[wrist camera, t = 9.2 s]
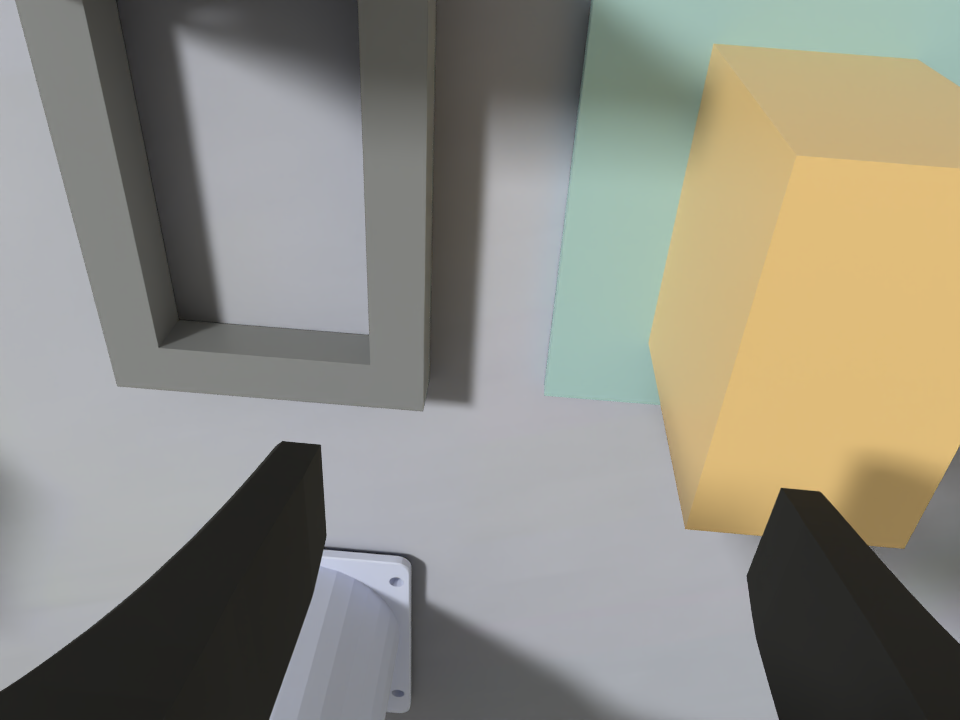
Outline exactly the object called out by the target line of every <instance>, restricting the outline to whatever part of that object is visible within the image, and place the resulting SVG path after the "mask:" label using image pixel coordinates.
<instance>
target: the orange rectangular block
mask: <svg viewBox="0 0 960 720" xmlns="http://www.w3.org/2000/svg"><path fill="white" fill-rule="evenodd" d="M648 344H649V349H650V354H651V359H652V364H653V369H654V374H655V379H656V384H657V389H658V394H659V399H660V404H661V410H662V415H663V420H664V425H665V430H666V435H667V440H668V445H669V450H670V455H671V460H672V465H673V470H674V475H675V480H676V485H677V490H678V495H679V500H680V505H681V510H682V515H683V520H684V525H685V529H690V530H701V531H712V532H723V533H734V534H745V535H757V536H762V535H763V533H764V530H765V527H766V525H767V522H768V520H769V517H770V515H771V512H772V509H773V507H774V504H775V502H776V499H777V497H778V494H779V491H780V489H781V488H789V489H800V490H811V491H820V492H821V493H822V494H823V495H824V496H825V497H826V498H827V499H828V500H829V501H830V502H831V504H832V505H833V506H834V507H835V508H836V509H837V510H838V512H839V513H840V514H841V515H842V516H843V517H844V518H845V520H846V521H847V522H848V523H849V524H850V525H851V527H852V528H853V529H854V530H855V531H856V532H857V533H858V535H859V536H860V537H861V538H862V539H863V540H864V541H865V543H866V544H867V545H868V546H879V547H890V548H901V549H904V548H905V546H906V544H907V543H908V541H909V539H910V537H911V535H912V533H913V531H914V530H915V528H916V526H917V524H918V522H919V520H920V518H921V517H922V515H923V513H924V511H925V509H926V507H927V505H928V504H929V502H930V500H931V498H932V496H933V494H934V492H935V490H936V489H937V487H938V485H939V483H940V481H941V479H942V477H943V476H944V474H945V472H946V470H947V468H948V466H949V464H950V463H951V461H952V459H953V457H954V455H955V453H956V451H957V450H958V448H959V446H960V87H959V86H958V85H956V84H955V83H953V82H952V81H950V80H949V79H947V78H946V77H944V76H942V75H941V74H939V73H938V72H936V71H935V70H933V69H932V68H930V67H929V66H927V65H926V64H924V63H923V62H921V61H919V60H918V59H907V58H894V57H881V56H868V55H855V54H842V53H829V52H816V51H803V50H790V49H777V48H764V47H751V46H738V45H725V44H713V48H712V52H711V57H710V62H709V66H708V71H707V75H706V80H705V85H704V89H703V94H702V98H701V103H700V108H699V112H698V117H697V121H696V126H695V131H694V135H693V140H692V144H691V149H690V154H689V158H688V163H687V167H686V172H685V177H684V181H683V186H682V190H681V195H680V200H679V204H678V209H677V213H676V218H675V223H674V227H673V232H672V236H671V241H670V246H669V250H668V255H667V259H666V264H665V269H664V273H663V278H662V282H661V287H660V292H659V296H658V301H657V305H656V310H655V315H654V319H653V324H652V328H651V333H650V338H649V342H648Z"/></svg>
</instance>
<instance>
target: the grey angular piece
mask: <svg viewBox="0 0 960 720" xmlns="http://www.w3.org/2000/svg"><path fill="white" fill-rule="evenodd" d="M15 2H16V5H17V9H18V13H19V17H20V20H21V24H22V28H23V32H24V36H25V39H26V43H27V47H28V51H29V54H30V58H31V62H32V66H33V70H34V73H35V77H36V81H37V85H38V88H39V92H40V96H41V100H42V104H43V107H44V111H45V115H46V119H47V122H48V126H49V130H50V134H51V138H52V141H53V145H54V149H55V153H56V156H57V160H58V164H59V168H60V172H61V175H62V179H63V183H64V187H65V190H66V194H67V198H68V202H69V206H70V209H71V213H72V217H73V221H74V224H75V228H76V232H77V236H78V240H79V243H80V247H81V251H82V255H83V258H84V262H85V266H86V270H87V273H88V277H89V281H90V285H91V289H92V292H93V296H94V300H95V304H96V307H97V311H98V315H99V319H100V323H101V326H102V330H103V334H104V338H105V341H106V345H107V349H108V353H109V357H110V360H111V364H112V368H113V372H114V375H115V379H116V383H117V386H119V387H131V388H144V389H156V390H168V391H180V392H192V393H205V394H217V395H229V396H241V397H253V398H265V399H278V400H290V401H302V402H314V403H326V404H339V405H351V406H363V407H375V408H387V409H399V410H412V411H423V410H424V405H425V400H426V395H427V390H428V385H429V368H430V313H431V258H432V203H433V147H434V92H435V37H436V0H358V26H359V54H360V83H361V112H362V141H363V170H364V199H365V227H366V256H367V285H368V314H369V335H361V334H348V333H336V332H323V331H311V330H298V329H286V328H273V327H261V326H248V325H236V324H223V323H211V322H198V321H185V320H179V318H178V313H177V308H176V303H175V298H174V293H173V288H172V283H171V278H170V273H169V267H168V262H167V257H166V252H165V247H164V242H163V237H162V232H161V227H160V222H159V217H158V212H157V207H156V202H155V196H154V191H153V186H152V181H151V176H150V171H149V166H148V161H147V156H146V151H145V146H144V141H143V136H142V131H141V125H140V120H139V115H138V110H137V105H136V100H135V95H134V90H133V85H132V80H131V75H130V70H129V65H128V60H127V54H126V49H125V44H124V39H123V34H122V29H121V24H120V19H119V14H118V9H117V4H116V0H15Z"/></svg>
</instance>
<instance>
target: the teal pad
mask: <svg viewBox="0 0 960 720" xmlns="http://www.w3.org/2000/svg"><path fill="white" fill-rule="evenodd" d="M713 44H725V45H738V46H751V47H764V48H777V49H790V50H803V51H816V52H829V53H842V54H855V55H868V56H881V57H894V58H907V59H918V60H919V61H921V62H923V63H924V64H926V65H927V66H929V67H930V68H932V69H933V70H935V71H936V72H938V73H939V74H941V75H942V76H944V77H946V78H947V79H949V80H950V81H952V82H953V83H955V84H956V85H958V86H959V87H960V0H591V7H590V15H589V24H588V32H587V40H586V48H585V56H584V64H583V73H582V81H581V89H580V97H579V105H578V114H577V122H576V130H575V138H574V146H573V154H572V163H571V171H570V179H569V187H568V195H567V203H566V212H565V220H564V228H563V236H562V244H561V252H560V261H559V269H558V277H557V285H556V293H555V301H554V310H553V318H552V326H551V334H550V342H549V351H548V359H547V367H546V375H545V383H544V396H555V397H568V398H580V399H592V400H605V401H617V402H629V403H642V404H654V405H661V404H660V399H659V394H658V389H657V384H656V379H655V374H654V369H653V364H652V359H651V354H650V349H649V344H648V342H649V338H650V333H651V328H652V324H653V319H654V315H655V310H656V305H657V301H658V296H659V292H660V287H661V282H662V278H663V273H664V269H665V264H666V259H667V255H668V250H669V246H670V241H671V236H672V232H673V227H674V223H675V218H676V213H677V209H678V204H679V200H680V195H681V190H682V186H683V181H684V177H685V172H686V167H687V163H688V158H689V154H690V149H691V144H692V140H693V135H694V131H695V126H696V121H697V117H698V112H699V108H700V103H701V98H702V94H703V89H704V85H705V80H706V75H707V71H708V66H709V62H710V57H711V52H712V48H713Z"/></svg>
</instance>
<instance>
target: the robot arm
mask: <svg viewBox="0 0 960 720" xmlns="http://www.w3.org/2000/svg"><path fill="white" fill-rule="evenodd" d="M325 540H326V520H325V504H324V489H323V473H322V457H321V445H317V444H307V443H296V442H285V441H282V442H281V443H279V444H278V445H277V446H275V448H274V449H273V450H272V451H271V452H270V454H269V455H268V456H267V457H266V458H265V459H264V461H263V462H262V463H261V464H260V465H259V466H258V468H257V469H256V470H255V471H254V472H253V473H252V475H251V476H250V477H249V478H248V479H247V480H246V481H245V483H244V484H243V485H242V486H241V487H240V488H239V489H238V490H237V491H236V492H235V494H234V495H233V496H232V497H231V498H230V499H229V500H228V501H227V502H226V503H225V504H224V506H223V507H222V508H221V509H220V510H219V511H218V512H217V513H216V514H215V515H214V516H213V517H212V518H211V519H210V520H209V521H208V522H207V523H206V524H205V525H204V526H203V527H202V528H201V529H200V530H199V531H198V533H197V534H196V535H195V536H194V537H193V538H192V539H191V540H190V541H189V542H188V543H186V544H185V545H184V546H183V547H182V548H181V549H180V550H179V551H178V552H177V553H176V554H175V555H174V556H173V557H172V558H171V559H169V560H168V561H167V562H166V563H165V564H164V565H163V566H162V567H161V568H160V569H159V570H158V571H157V572H156V573H155V574H153V575H152V576H151V577H150V578H149V579H148V580H147V581H146V582H145V583H144V584H142V585H141V586H140V587H139V588H138V589H137V590H135V591H134V592H133V593H132V594H131V595H130V596H129V597H127V598H126V599H125V600H124V601H123V602H121V603H120V604H119V605H118V606H117V607H115V608H114V609H113V610H112V611H110V612H109V613H108V614H107V615H105V616H104V617H103V618H102V619H101V620H99V621H98V622H97V623H96V624H94V625H93V626H92V627H90V628H89V629H88V630H87V631H85V632H84V633H83V634H81V635H80V636H79V637H77V638H76V639H75V640H73V641H72V642H70V643H69V644H68V645H66V646H65V647H64V648H62V649H61V650H60V651H58V652H57V653H56V654H54V655H53V656H52V657H50V658H49V659H48V660H46V661H45V662H43V663H42V664H40V665H39V666H38V667H36V668H35V669H33V670H32V671H30V672H29V673H28V674H26V675H25V676H23V677H22V678H20V679H19V680H17V681H16V682H14V683H13V684H11V685H10V686H8V687H7V688H5V689H3V690H2V691H0V720H385V717H386V712H391V713H404V712H407V711H408V710H409V709H410V705H411V563H410V562H409V561H408V560H407V559H405V558H404V557H400V556H393V555H381V554H369V553H358V552H346V551H335V550H324V545H325ZM395 577H397V578H395ZM747 582H748V589H749V597H750V604H751V611H752V617H753V623H754V629H755V635H756V640H757V644H758V647H759V651H760V655H761V658H762V662H763V665H764V669H765V672H766V676H767V680H768V683H769V687H770V690H771V694H772V697H773V700H774V704H775V707H776V711H777V714H778V718H779V720H960V644H959V643H958V642H957V641H956V640H955V639H954V638H953V637H952V636H951V635H950V634H949V633H948V632H947V631H946V630H945V629H944V628H943V627H942V626H941V625H940V624H939V623H938V622H937V621H936V620H935V619H934V617H933V616H932V615H931V614H930V613H929V612H928V611H927V610H926V609H925V608H924V607H923V606H922V605H921V604H920V603H919V602H918V601H917V600H916V598H915V597H914V596H913V595H912V594H911V593H910V592H909V591H908V590H907V589H906V588H905V586H904V585H903V584H902V583H901V582H900V581H899V580H898V579H897V578H896V577H895V575H894V574H893V573H892V572H891V571H890V570H889V569H888V568H887V567H886V565H885V564H884V563H883V562H882V561H881V560H880V559H879V557H878V556H877V555H876V554H875V553H874V552H873V551H872V549H871V548H870V547H869V546H868V545H867V544H866V543H865V541H864V540H863V539H862V538H861V537H860V536H859V535H858V533H857V532H856V531H855V530H854V529H853V528H852V527H851V525H850V524H849V523H848V522H847V521H846V520H845V518H844V517H843V516H842V515H841V514H840V513H839V512H838V510H837V509H836V508H835V507H834V506H833V505H832V504H831V502H830V501H829V500H828V499H827V498H826V497H825V496H824V495H823V494H822V493H821V492H820V491H811V490H800V489H789V488H781V489H780V491H779V494H778V497H777V499H776V502H775V504H774V507H773V509H772V512H771V515H770V517H769V520H768V522H767V525H766V527H765V530H764V533H763V535H762V538H761V540H760V543H759V545H758V548H757V551H756V553H755V556H754V558H753V561H752V563H751V566H750V569H749V571H748V574H747Z"/></svg>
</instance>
